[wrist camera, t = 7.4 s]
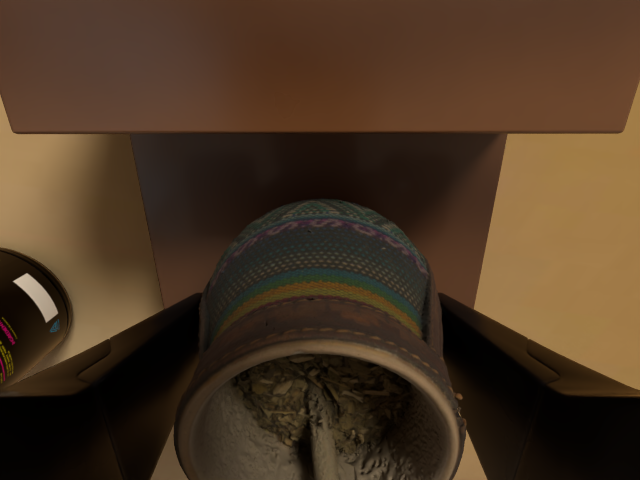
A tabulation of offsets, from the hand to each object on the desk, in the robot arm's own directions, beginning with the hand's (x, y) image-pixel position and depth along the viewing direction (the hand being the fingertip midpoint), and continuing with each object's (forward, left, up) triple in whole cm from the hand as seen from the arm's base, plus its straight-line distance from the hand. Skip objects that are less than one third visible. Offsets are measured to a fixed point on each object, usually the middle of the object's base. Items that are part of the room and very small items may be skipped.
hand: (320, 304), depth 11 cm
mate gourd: (0, 0, -3) cm, 3 cm away
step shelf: (+2, 0, -6) cm, 7 cm away
